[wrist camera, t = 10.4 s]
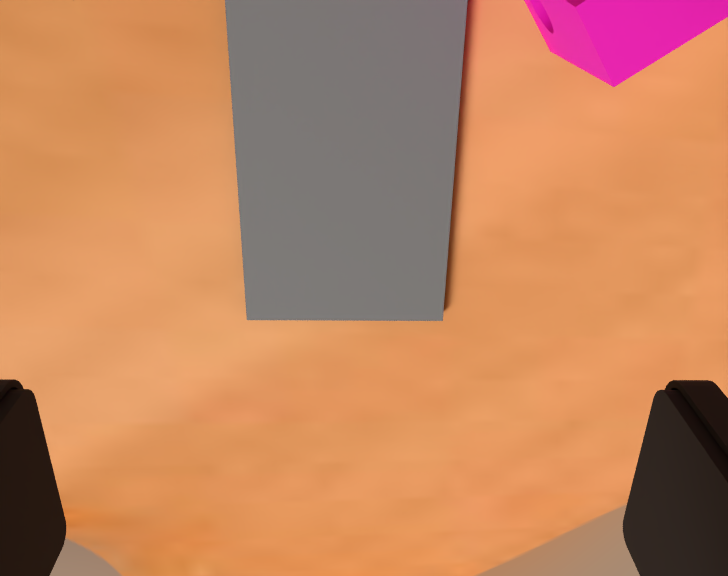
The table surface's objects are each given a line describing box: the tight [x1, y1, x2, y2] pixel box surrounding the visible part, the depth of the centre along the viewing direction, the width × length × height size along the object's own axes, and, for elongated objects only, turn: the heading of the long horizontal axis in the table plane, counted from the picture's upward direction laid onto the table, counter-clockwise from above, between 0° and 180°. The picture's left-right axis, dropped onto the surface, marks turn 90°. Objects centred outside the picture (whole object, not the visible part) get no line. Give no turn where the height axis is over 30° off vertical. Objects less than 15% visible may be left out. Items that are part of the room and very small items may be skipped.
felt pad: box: [225, 0, 468, 321], centre depth 28 cm, size 17×9×1 cm, turn 179°
